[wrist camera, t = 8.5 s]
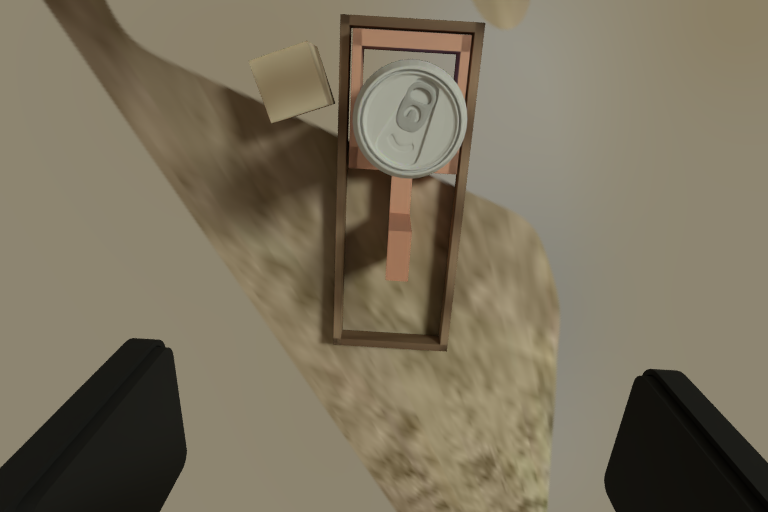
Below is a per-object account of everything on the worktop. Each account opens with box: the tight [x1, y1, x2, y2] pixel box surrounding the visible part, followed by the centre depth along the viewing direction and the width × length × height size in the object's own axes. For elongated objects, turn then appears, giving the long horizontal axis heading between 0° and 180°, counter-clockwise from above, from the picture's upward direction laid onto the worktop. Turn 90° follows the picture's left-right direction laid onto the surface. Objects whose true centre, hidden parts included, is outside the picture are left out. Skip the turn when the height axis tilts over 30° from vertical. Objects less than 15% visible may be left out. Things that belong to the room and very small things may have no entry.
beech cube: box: [249, 41, 335, 123], centre depth 32 cm, size 4×4×4 cm
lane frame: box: [333, 14, 485, 351], centre depth 35 cm, size 25×10×2 cm, turn 177°
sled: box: [349, 28, 472, 281], centre depth 32 cm, size 16×8×6 cm, turn 177°
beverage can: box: [353, 59, 467, 179], centre depth 27 cm, size 5×5×15 cm
